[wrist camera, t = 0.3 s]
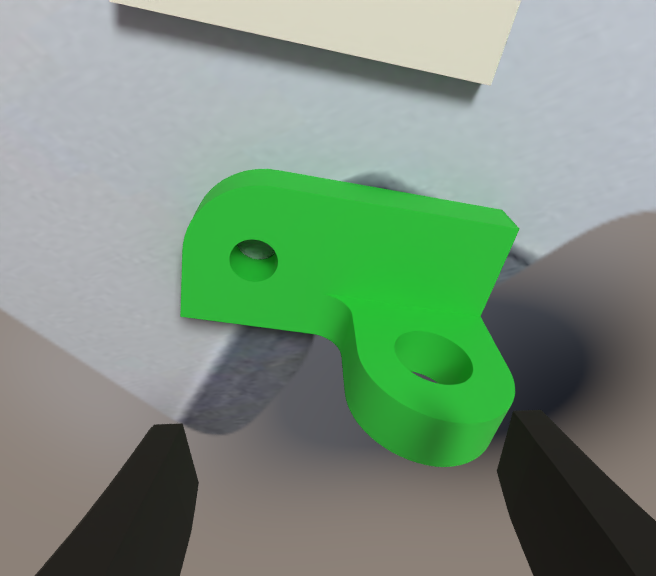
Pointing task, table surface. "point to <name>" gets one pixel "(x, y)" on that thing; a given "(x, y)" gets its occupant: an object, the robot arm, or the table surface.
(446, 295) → the mechanical part
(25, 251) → the table surface
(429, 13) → the plate
